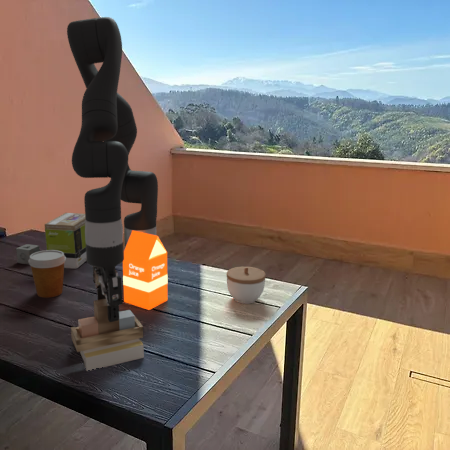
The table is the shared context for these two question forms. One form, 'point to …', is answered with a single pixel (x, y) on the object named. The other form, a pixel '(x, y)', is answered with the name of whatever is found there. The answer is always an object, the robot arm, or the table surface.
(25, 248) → the dice cube
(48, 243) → the tea box
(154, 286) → the orange juice
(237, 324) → the table surface
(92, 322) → the block
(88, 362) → the strip
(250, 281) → the lidded jar
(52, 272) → the disposable coffee cup
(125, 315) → the block
